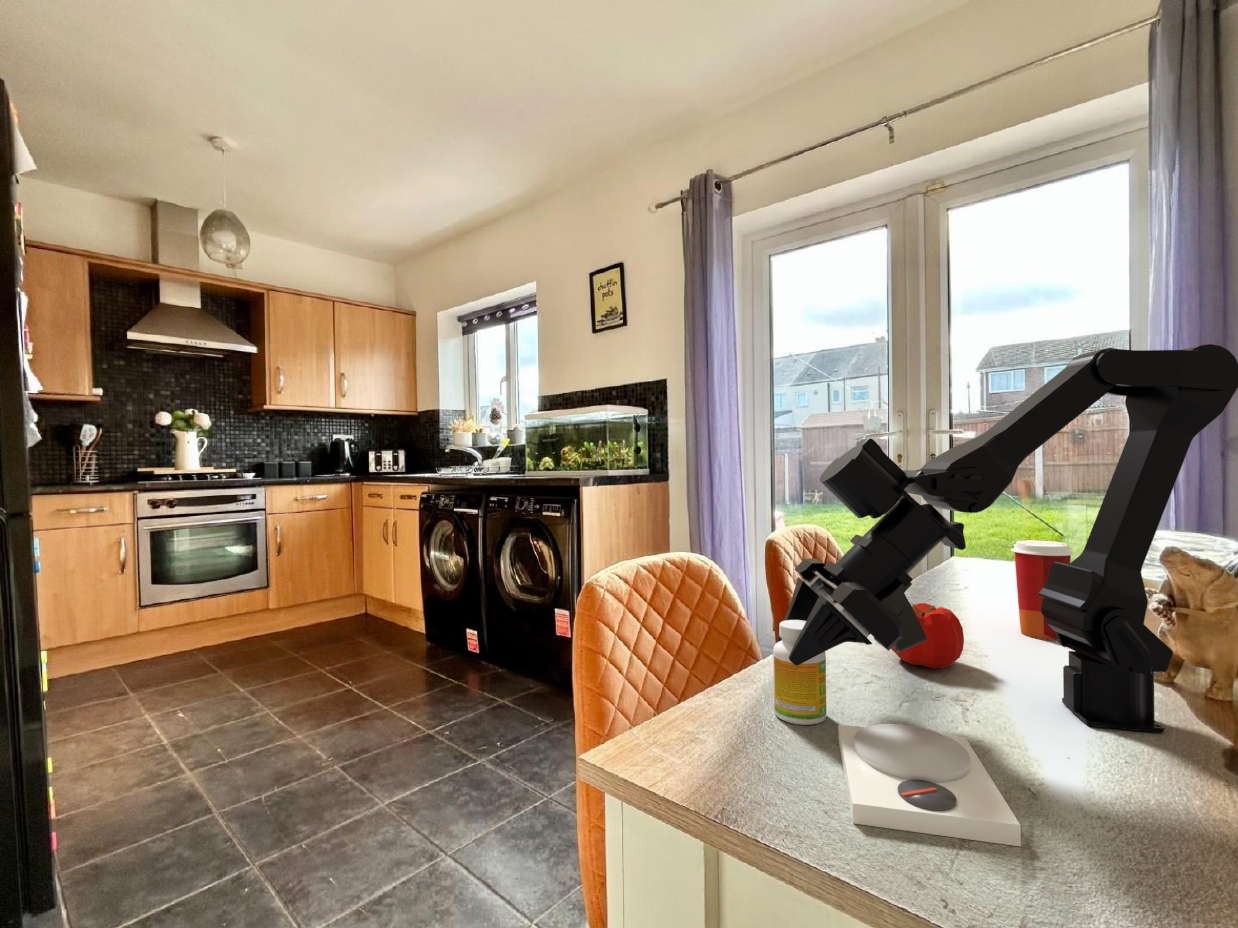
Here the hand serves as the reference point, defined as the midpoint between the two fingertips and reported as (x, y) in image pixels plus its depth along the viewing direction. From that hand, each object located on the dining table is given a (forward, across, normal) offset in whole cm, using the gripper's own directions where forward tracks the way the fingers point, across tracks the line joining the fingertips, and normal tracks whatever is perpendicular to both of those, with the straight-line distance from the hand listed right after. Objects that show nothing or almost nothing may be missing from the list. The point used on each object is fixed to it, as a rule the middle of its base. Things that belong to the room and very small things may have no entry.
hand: (785, 653), depth 65 cm
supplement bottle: (+4, 0, -6) cm, 7 cm away
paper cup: (-27, +30, -37) cm, 55 cm away
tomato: (-10, +17, -20) cm, 28 cm away
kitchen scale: (-1, -14, -10) cm, 17 cm away
